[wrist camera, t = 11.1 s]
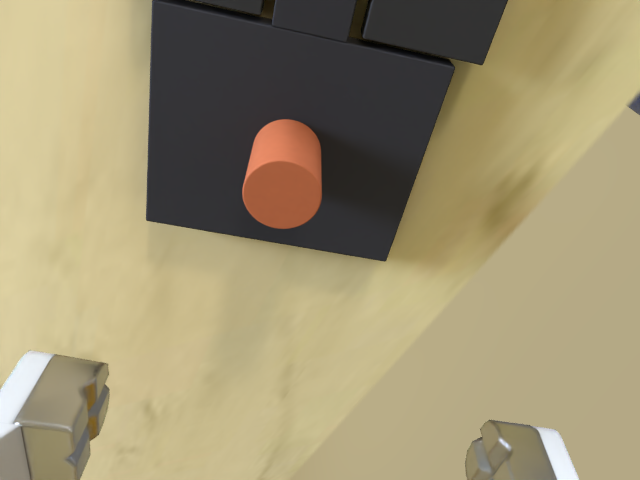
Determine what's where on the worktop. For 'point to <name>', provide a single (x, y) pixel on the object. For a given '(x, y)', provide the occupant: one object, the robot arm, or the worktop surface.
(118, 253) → the worktop surface
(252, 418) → the worktop surface
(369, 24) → the notch pad
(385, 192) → the tab pad
